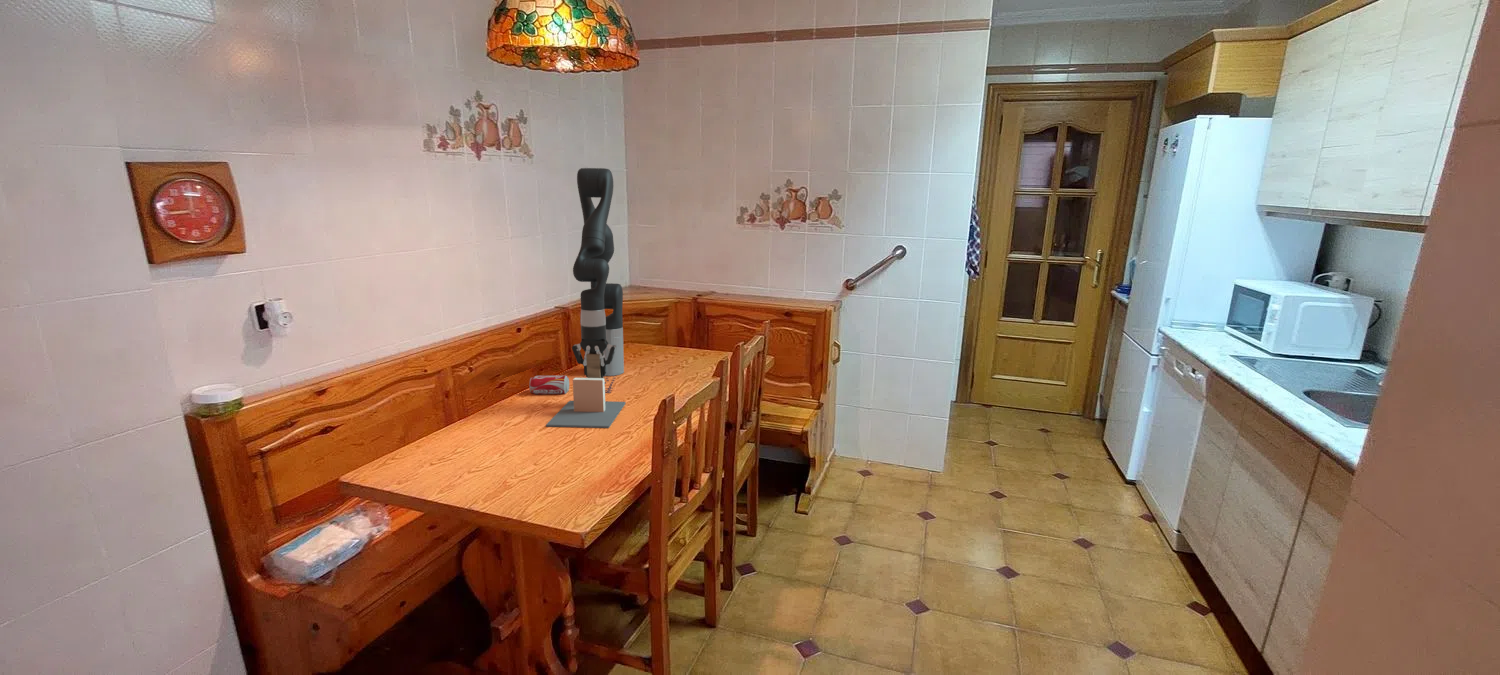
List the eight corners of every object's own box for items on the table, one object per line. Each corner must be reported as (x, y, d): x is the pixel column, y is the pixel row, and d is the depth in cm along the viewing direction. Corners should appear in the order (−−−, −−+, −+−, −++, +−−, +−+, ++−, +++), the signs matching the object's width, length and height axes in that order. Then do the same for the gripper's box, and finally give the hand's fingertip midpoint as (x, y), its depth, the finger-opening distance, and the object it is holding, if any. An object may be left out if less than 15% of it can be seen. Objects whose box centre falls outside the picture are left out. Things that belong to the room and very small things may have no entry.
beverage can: (566, 378, 199) (528, 379, 198) (566, 396, 200) (529, 397, 199) (569, 373, 205) (533, 373, 204) (570, 390, 206) (534, 391, 205)
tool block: (590, 378, 193) (589, 351, 191) (603, 378, 193) (602, 351, 191) (587, 382, 189) (586, 354, 187) (600, 382, 189) (599, 354, 187)
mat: (569, 402, 194) (569, 400, 194) (625, 403, 194) (625, 401, 194) (546, 426, 173) (546, 424, 173) (608, 428, 173) (608, 426, 172)
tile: (576, 408, 187) (575, 377, 184) (605, 409, 186) (604, 378, 184) (574, 411, 184) (572, 379, 182) (603, 412, 184) (602, 380, 182)
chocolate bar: (618, 380, 222) (618, 375, 221) (610, 396, 203) (610, 390, 203) (598, 380, 221) (598, 375, 221) (589, 396, 203) (588, 390, 202)
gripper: (619, 321, 191) (620, 374, 194) (574, 320, 191) (576, 373, 194) (613, 326, 183) (615, 380, 187) (566, 325, 184) (569, 379, 187)
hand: (595, 376), depth 191 cm, fingers closed on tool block, 4 cm apart
